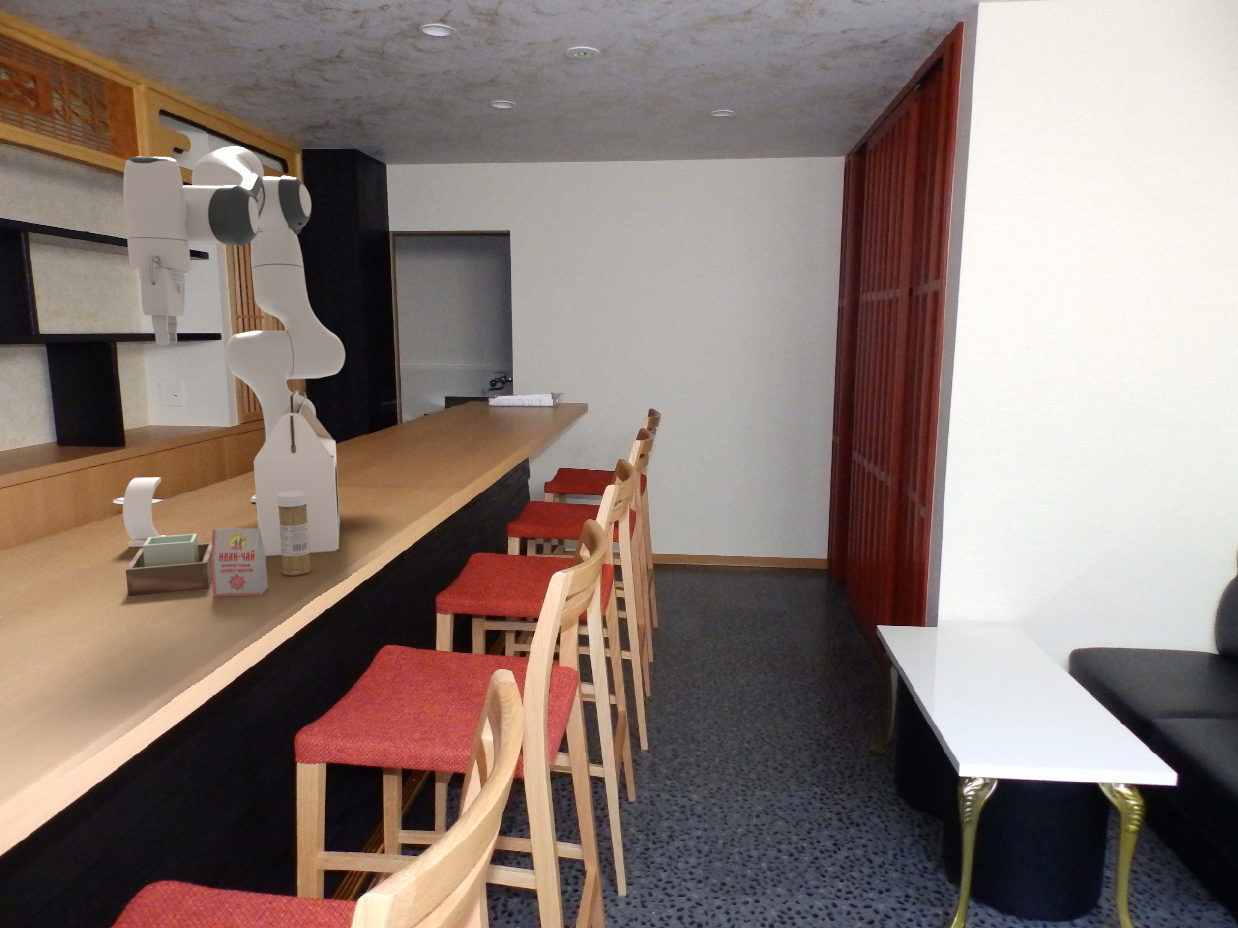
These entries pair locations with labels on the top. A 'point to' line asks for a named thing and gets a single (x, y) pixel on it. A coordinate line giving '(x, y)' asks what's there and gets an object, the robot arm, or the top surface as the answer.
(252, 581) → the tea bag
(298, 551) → the sprinkles bottle
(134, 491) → the headphone stand
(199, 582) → the large crate
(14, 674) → the top surface
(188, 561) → the box
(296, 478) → the gable box
